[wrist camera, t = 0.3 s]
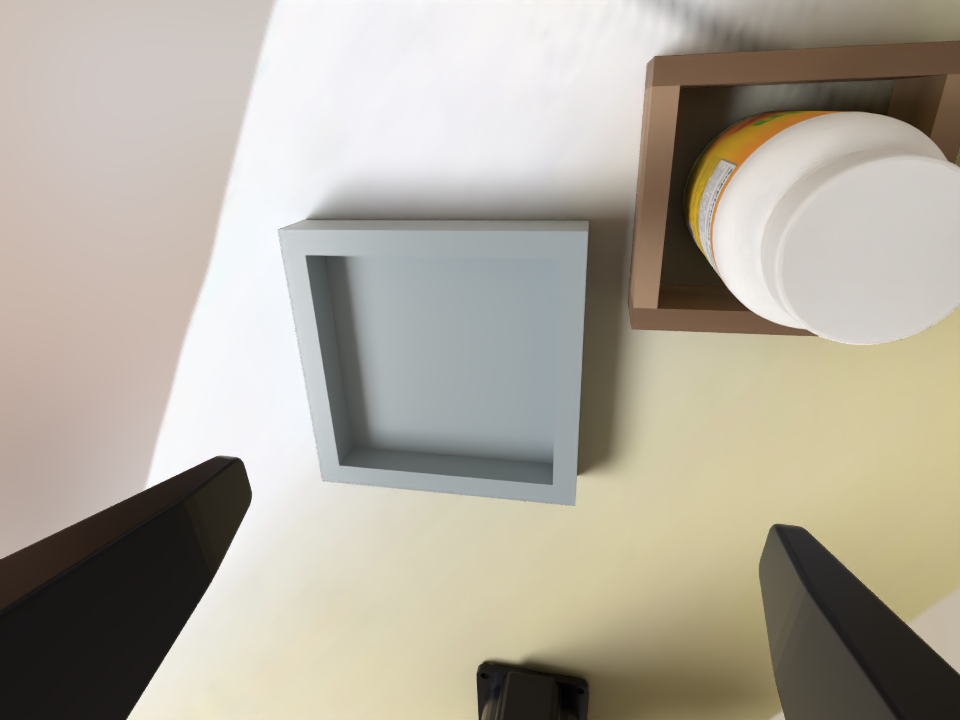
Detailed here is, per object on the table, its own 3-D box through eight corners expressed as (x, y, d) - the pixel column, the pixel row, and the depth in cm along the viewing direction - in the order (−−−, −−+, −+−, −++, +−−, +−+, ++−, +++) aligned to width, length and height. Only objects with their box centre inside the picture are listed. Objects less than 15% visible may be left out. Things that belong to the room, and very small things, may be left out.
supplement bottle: (869, 119, 18) (1109, 128, 10) (812, 275, 21) (966, 394, 12) (702, 102, 19) (787, 98, 11) (665, 255, 22) (711, 354, 13)
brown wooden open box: (862, 310, 21) (901, 339, 18) (627, 303, 23) (631, 329, 20) (931, 49, 17) (991, 39, 15) (647, 63, 19) (654, 56, 16)
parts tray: (576, 476, 26) (575, 505, 24) (341, 455, 29) (322, 481, 27) (588, 220, 22) (588, 231, 20) (304, 219, 24) (277, 229, 22)
